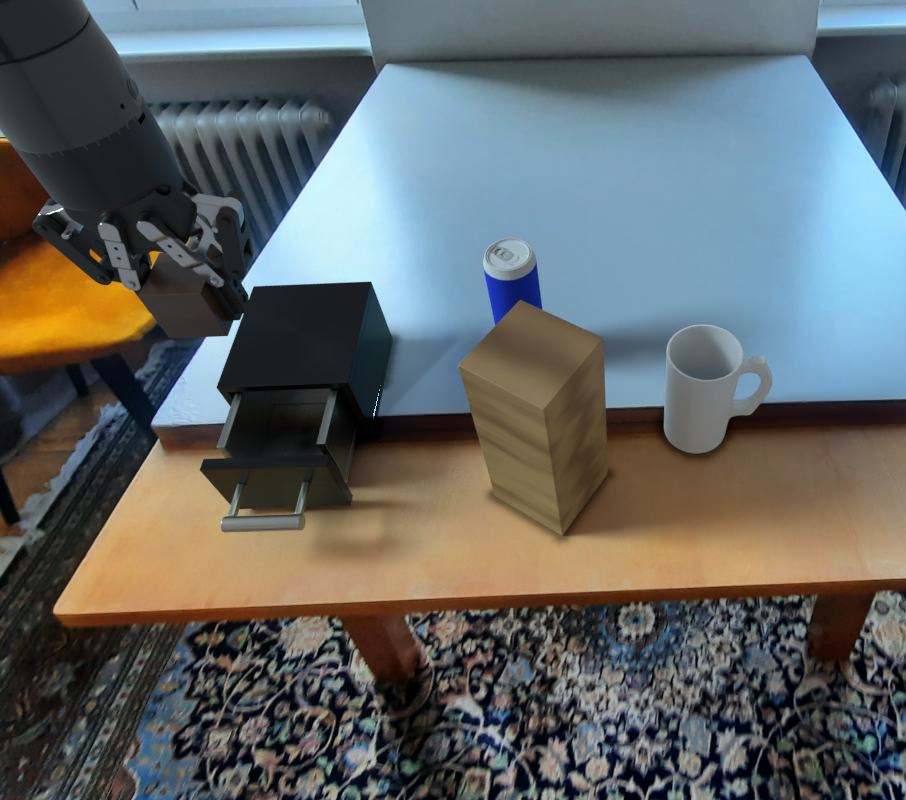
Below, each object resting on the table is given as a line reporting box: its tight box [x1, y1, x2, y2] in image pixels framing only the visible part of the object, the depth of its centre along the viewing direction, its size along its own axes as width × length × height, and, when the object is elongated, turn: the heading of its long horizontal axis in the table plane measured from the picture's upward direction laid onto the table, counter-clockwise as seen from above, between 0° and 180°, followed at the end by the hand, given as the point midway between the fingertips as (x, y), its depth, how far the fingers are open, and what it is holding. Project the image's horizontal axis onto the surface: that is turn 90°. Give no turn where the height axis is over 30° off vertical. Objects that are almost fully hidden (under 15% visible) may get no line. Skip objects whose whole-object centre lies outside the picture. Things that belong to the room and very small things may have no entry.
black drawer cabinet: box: [216, 281, 394, 438], centre depth 77 cm, size 14×13×9 cm
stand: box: [457, 300, 609, 536], centre depth 64 cm, size 8×8×20 cm
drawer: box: [199, 388, 360, 534], centre depth 70 cm, size 17×11×7 cm, turn 0°
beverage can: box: [482, 237, 543, 327], centre depth 76 cm, size 5×5×15 cm
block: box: [137, 252, 234, 339], centre depth 55 cm, size 4×4×4 cm
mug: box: [663, 323, 773, 454], centre depth 70 cm, size 10×7×12 cm, turn 89°
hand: (205, 313), depth 56 cm, fingers closed on block, 4 cm apart
